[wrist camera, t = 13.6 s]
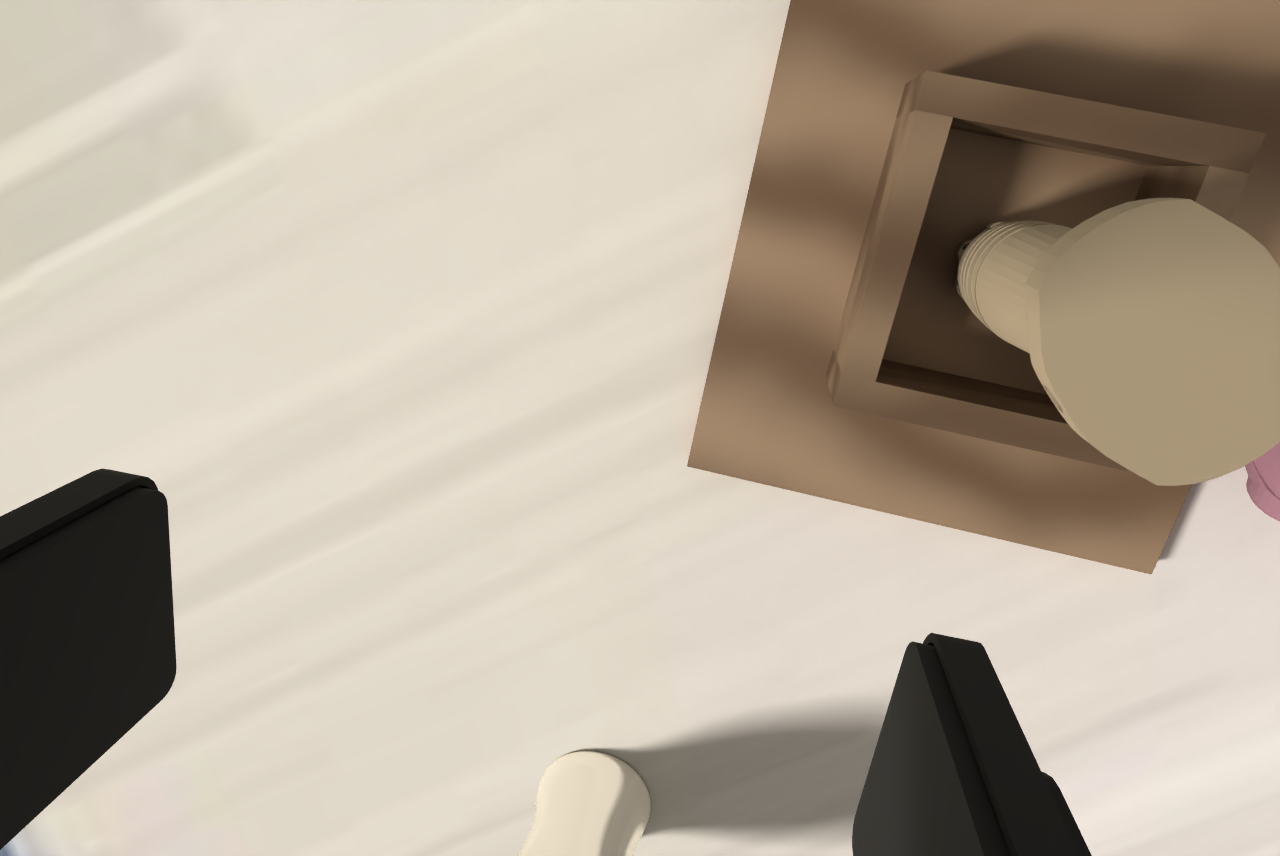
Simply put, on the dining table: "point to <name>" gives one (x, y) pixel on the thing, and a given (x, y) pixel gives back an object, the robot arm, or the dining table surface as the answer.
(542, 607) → the dining table surface
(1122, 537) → the holder
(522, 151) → the dining table surface
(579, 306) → the dining table surface
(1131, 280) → the handle
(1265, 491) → the video game controller
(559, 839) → the beer glass
